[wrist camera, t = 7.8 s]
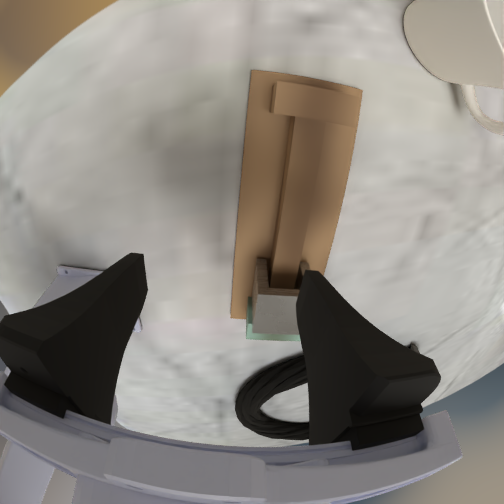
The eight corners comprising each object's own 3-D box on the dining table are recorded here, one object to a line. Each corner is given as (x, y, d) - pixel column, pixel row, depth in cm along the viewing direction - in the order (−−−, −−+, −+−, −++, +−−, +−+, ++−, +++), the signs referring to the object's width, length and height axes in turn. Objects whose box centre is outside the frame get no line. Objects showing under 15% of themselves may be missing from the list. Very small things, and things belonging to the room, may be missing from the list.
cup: (452, 5, 10) (526, -6, 1) (484, 119, 16) (561, 147, 7) (385, -3, 11) (460, -40, 3) (426, 127, 17) (515, 158, 8)
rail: (230, 314, 27) (228, 344, 23) (251, 71, 16) (252, 62, 12) (308, 317, 27) (314, 347, 24) (359, 90, 16) (384, 89, 13)
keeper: (251, 295, 24) (252, 333, 21) (256, 258, 22) (257, 294, 18) (299, 298, 25) (306, 335, 21) (308, 262, 23) (319, 297, 19)
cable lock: (195, 415, 33) (395, 316, 23) (198, 394, 37) (381, 292, 26) (302, 450, 44) (438, 388, 34) (300, 435, 47) (431, 372, 37)
